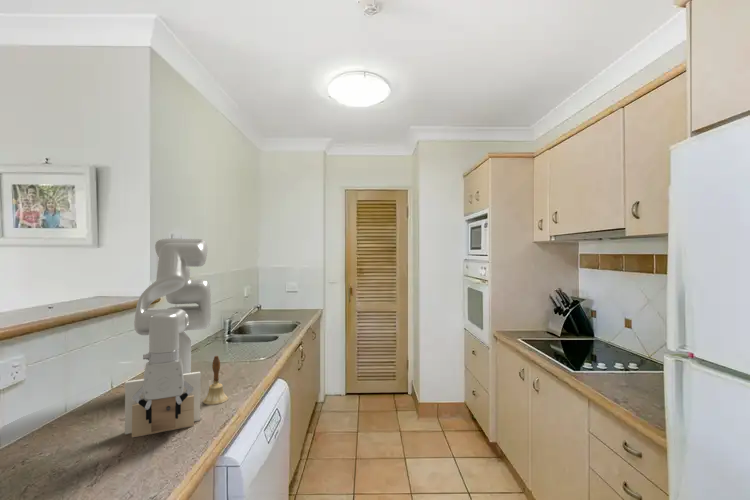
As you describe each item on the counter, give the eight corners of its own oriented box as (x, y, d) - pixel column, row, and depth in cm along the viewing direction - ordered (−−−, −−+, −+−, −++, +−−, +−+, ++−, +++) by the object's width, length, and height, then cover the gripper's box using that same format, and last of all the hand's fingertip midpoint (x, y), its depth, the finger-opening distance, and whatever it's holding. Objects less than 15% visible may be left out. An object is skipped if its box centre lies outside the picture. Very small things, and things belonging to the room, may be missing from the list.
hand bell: (233, 397, 140) (233, 354, 140) (216, 406, 132) (217, 360, 132) (214, 395, 142) (215, 352, 142) (197, 403, 134) (198, 357, 135)
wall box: (152, 421, 114) (152, 387, 114) (175, 417, 117) (175, 384, 117) (151, 433, 106) (151, 397, 106) (175, 428, 109) (175, 393, 109)
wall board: (125, 432, 112) (125, 381, 113) (199, 418, 122) (200, 371, 122) (123, 439, 108) (124, 386, 108) (200, 424, 118) (201, 375, 118)
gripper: (127, 363, 102) (126, 431, 102) (197, 355, 110) (197, 418, 110) (129, 357, 109) (129, 420, 109) (196, 350, 117) (196, 408, 117)
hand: (163, 418), depth 110 cm, fingers closed on wall box, 6 cm apart
